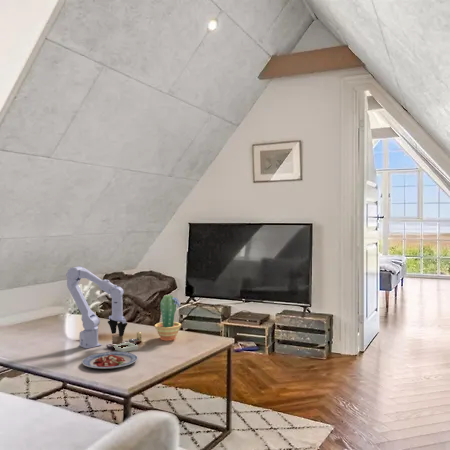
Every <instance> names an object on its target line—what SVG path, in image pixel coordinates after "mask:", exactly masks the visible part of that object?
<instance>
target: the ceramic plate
mask: <svg viewBox="0 0 450 450" xmlns="http://www.w3.org/2000/svg"><path fill="white" fill-rule="evenodd" d="M136 361H138V355H136V354H134V353H132V352H118V351H108V352H107V351H105V352H100V353H99V352H98V353H94V354H91V355H88V356H86V357H85V358H83V359H82V360H81V363H82V365H83V366H85V367H88V368H93V369H100V370H112V369H119V368H123V367H125V366H129V365H132V364H134V363H135V362H136Z"/></svg>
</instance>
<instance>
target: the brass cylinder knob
mask: <svg viewBox="0 0 450 450" xmlns="http://www.w3.org/2000/svg"><path fill="white" fill-rule="evenodd" d="M128 341H129V342H134V341H136V342H138V341H142V331H137V332H136V338H129V339H128Z"/></svg>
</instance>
